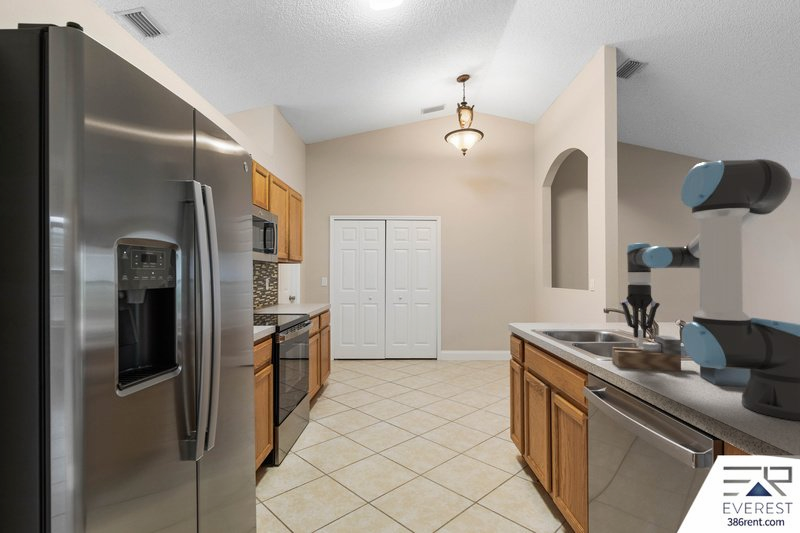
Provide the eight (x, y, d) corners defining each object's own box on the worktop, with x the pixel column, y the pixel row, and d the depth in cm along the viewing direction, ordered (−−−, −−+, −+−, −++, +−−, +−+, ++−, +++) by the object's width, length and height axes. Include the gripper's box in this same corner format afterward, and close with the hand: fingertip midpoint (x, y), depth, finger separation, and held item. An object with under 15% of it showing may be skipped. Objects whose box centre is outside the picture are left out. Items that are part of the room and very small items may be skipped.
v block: (753, 387, 116) (753, 363, 116) (714, 384, 118) (714, 361, 118) (735, 378, 125) (735, 357, 125) (700, 376, 128) (699, 355, 128)
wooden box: (670, 365, 143) (670, 335, 144) (681, 371, 135) (680, 340, 135) (612, 361, 149) (611, 333, 149) (618, 367, 140) (618, 337, 141)
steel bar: (694, 356, 136) (693, 346, 136) (643, 353, 141) (643, 344, 141) (689, 354, 140) (689, 344, 140) (640, 351, 144) (640, 342, 144)
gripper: (655, 283, 145) (655, 345, 144) (617, 283, 148) (617, 343, 148) (662, 284, 137) (663, 349, 137) (622, 284, 141) (623, 347, 141)
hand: (639, 346), depth 142 cm, fingers closed
